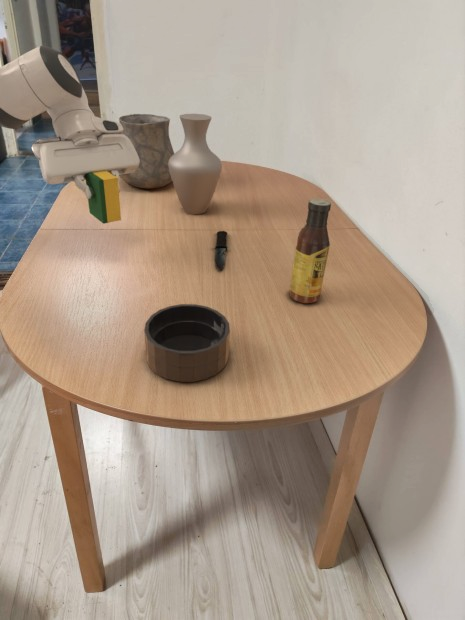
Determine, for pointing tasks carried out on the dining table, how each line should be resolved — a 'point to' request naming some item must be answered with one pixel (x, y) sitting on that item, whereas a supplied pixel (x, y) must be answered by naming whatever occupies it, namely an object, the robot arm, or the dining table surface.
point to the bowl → (187, 342)
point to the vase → (195, 166)
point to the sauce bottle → (311, 254)
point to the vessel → (148, 149)
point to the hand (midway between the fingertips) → (104, 195)
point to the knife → (220, 249)
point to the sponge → (104, 196)
